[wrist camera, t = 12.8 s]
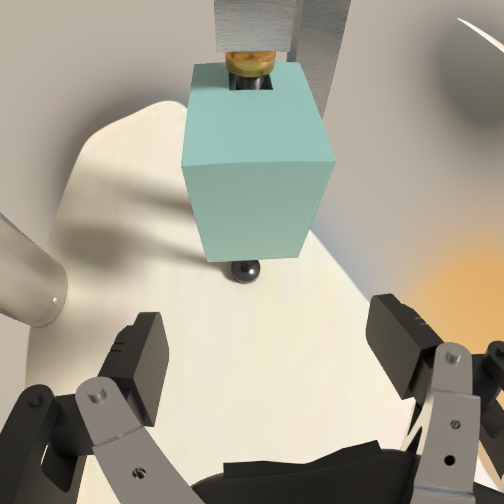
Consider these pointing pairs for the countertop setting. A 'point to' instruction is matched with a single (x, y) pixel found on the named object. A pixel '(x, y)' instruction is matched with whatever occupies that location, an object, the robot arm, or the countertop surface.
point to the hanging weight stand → (279, 39)
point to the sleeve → (254, 162)
